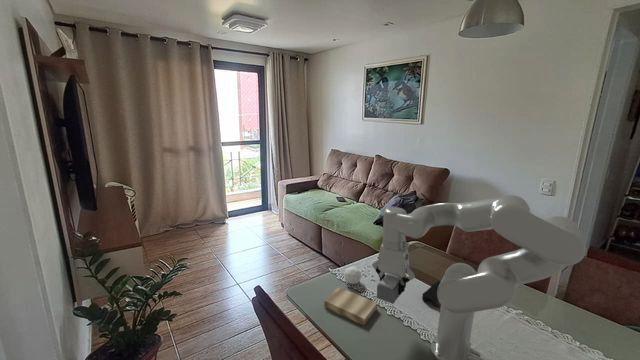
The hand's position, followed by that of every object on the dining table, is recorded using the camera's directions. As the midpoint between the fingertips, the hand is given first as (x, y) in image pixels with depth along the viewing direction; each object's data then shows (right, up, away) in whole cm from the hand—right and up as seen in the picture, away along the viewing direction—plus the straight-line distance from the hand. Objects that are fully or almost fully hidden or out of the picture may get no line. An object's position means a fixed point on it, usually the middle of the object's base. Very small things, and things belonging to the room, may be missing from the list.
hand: (391, 289), depth 103 cm
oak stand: (-13, -13, +13) cm, 23 cm away
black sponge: (+25, -11, +20) cm, 34 cm away
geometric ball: (-11, -9, +30) cm, 33 cm away
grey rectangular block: (0, -1, 0) cm, 1 cm away
